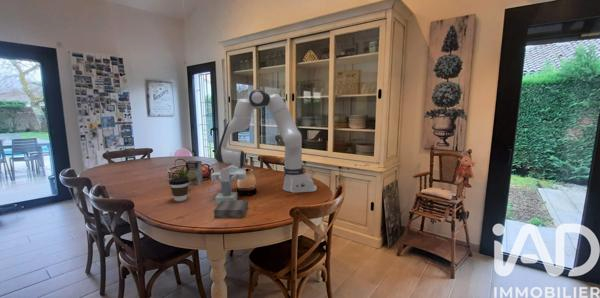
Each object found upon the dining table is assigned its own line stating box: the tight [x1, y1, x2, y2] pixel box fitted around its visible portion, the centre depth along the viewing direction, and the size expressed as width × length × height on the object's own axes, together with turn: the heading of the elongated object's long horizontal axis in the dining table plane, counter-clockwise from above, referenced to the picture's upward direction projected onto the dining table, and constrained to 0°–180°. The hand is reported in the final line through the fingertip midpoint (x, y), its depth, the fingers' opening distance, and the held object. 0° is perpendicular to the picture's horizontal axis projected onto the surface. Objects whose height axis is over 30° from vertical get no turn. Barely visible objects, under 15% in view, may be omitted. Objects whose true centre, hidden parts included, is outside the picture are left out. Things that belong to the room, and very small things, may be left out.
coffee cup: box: [168, 177, 189, 202], centre depth 163 cm, size 11×11×12 cm
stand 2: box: [213, 199, 249, 219], centre depth 143 cm, size 14×14×4 cm
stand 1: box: [214, 191, 238, 206], centre depth 159 cm, size 10×10×4 cm
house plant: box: [172, 166, 191, 192], centre depth 180 cm, size 14×14×16 cm
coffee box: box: [185, 160, 203, 186], centre depth 196 cm, size 9×6×16 cm
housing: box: [219, 167, 233, 194], centre depth 158 cm, size 5×5×14 cm
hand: (225, 179), depth 157 cm, fingers closed on housing, 5 cm apart
